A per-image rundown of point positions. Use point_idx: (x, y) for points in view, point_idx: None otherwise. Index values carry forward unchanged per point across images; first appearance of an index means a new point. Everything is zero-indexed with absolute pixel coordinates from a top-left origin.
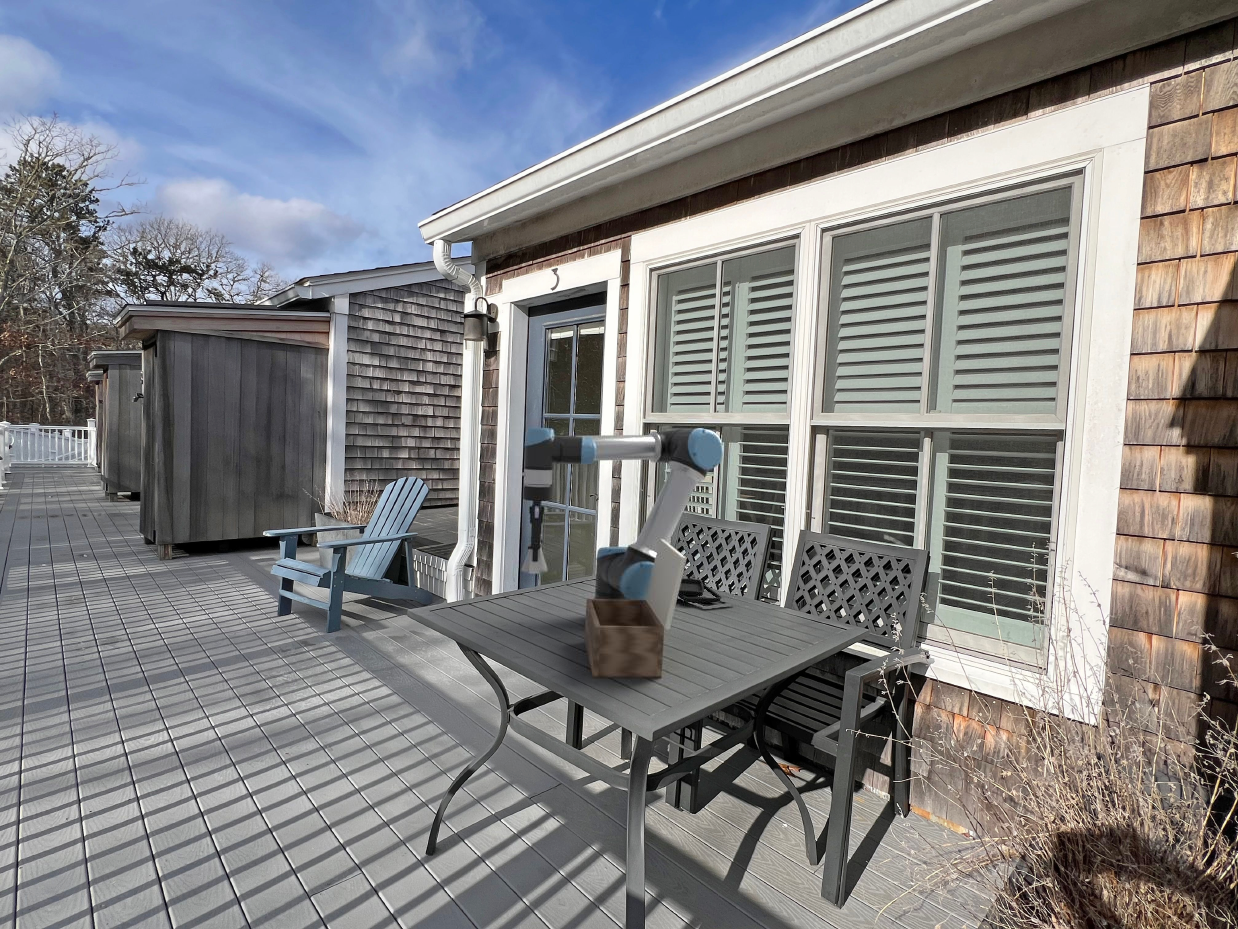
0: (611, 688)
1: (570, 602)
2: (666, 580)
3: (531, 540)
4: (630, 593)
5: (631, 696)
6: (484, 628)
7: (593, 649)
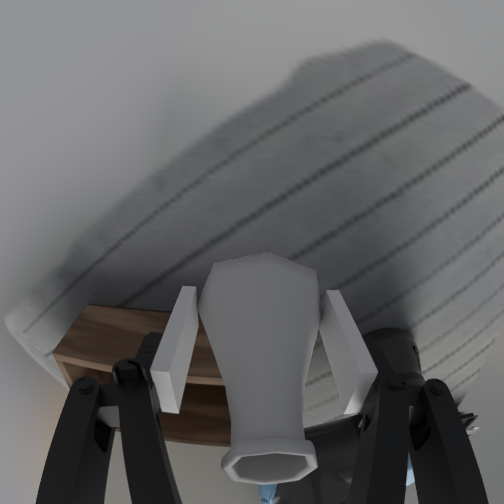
0: (64, 317)
1: (485, 298)
2: (128, 489)
3: (63, 413)
4: None
5: (52, 331)
6: (368, 112)
7: (81, 328)
